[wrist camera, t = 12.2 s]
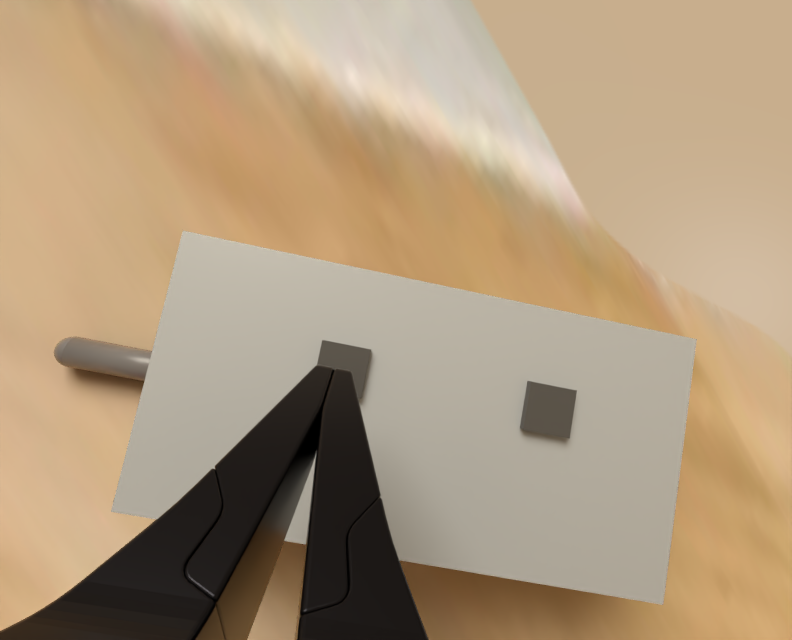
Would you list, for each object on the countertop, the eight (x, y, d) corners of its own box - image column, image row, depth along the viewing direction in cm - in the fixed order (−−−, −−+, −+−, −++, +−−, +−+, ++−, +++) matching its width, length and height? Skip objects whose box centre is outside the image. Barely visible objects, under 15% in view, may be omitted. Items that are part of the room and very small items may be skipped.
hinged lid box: (560, 531, 20) (636, 595, 14) (42, 439, 18) (-96, 471, 13) (583, 363, 21) (662, 363, 15) (95, 264, 20) (-12, 224, 14)
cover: (646, 590, 14) (669, 610, 13) (126, 502, 13) (104, 515, 12) (678, 339, 15) (703, 339, 14) (193, 237, 14) (178, 227, 13)
